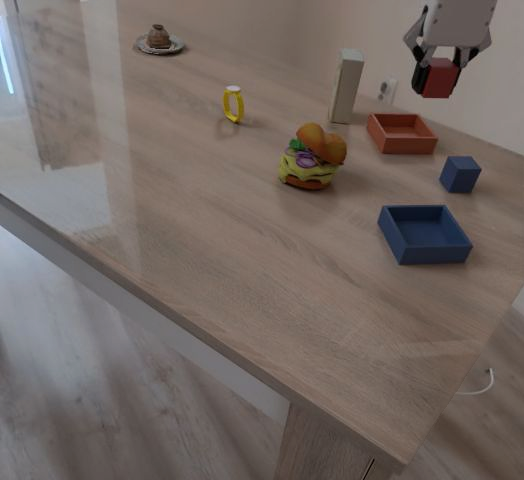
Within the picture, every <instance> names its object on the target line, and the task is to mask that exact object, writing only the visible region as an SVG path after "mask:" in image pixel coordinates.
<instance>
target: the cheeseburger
mask: <svg viewBox="0 0 524 480" xmlns="http://www.w3.org/2000/svg"><path fill="white" fill-rule="evenodd" d="M295 136H296V138H292V139H291V140H289V142H288V145H289V146H287V147H285V149H284V151H283V154H282V155H281V157H280V159H279V167H278V170H277V175H278V178H279V179H280V181H281V182H282V183H283V184H286V183H288V184H290V185H294V186H296V187H300V188H304V189H308V190H309V189H310V190H319V189H324V188H325V187H327V186H328V185H329V184H330V183H331V181H332V179H333V178H334V176H335V175H336V172H337V171H338V169H339V167H342V166H344V165H345V163H344V162H345V160H346V157H347V155H348V145H347V143H346V141H345V139H344V138H343V137H342V136H341V135H340V134H337V133H328V132H326V131H324V128H323V127H322V126H321V125H320V124H318V123H316V122H313V121H311V122H306V123H305V124H302V125H301V126H300V127H299V128H298V129H297V130H296V132H295Z"/></svg>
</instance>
